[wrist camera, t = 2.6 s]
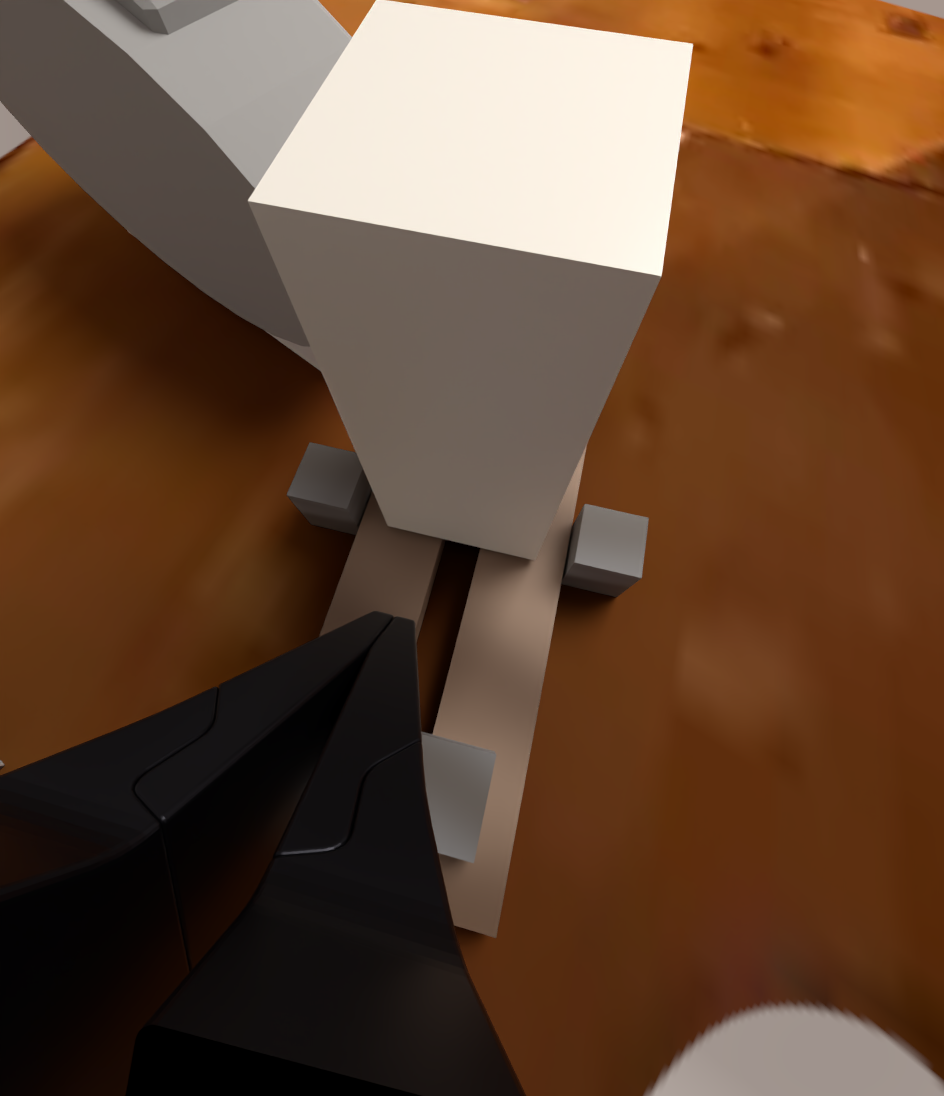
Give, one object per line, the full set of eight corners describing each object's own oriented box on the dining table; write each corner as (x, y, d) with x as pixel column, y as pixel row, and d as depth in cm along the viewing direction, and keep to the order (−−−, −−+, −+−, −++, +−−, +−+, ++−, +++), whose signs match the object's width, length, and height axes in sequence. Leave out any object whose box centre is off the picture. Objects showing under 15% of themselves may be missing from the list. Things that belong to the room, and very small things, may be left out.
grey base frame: (569, 942, 14) (594, 999, 11) (187, 828, 15) (123, 854, 12) (651, 339, 23) (677, 288, 20) (406, 292, 24) (397, 237, 21)
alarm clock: (452, 345, 23) (436, -55, 11) (370, 422, 21) (243, 48, 9) (170, 163, 28) (-54, -251, 16) (85, 213, 26) (-238, -207, 14)
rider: (531, 567, 18) (661, 276, 6) (391, 534, 19) (247, 200, 6) (557, 446, 20) (693, 44, 8) (430, 419, 21) (376, -2, 8)
